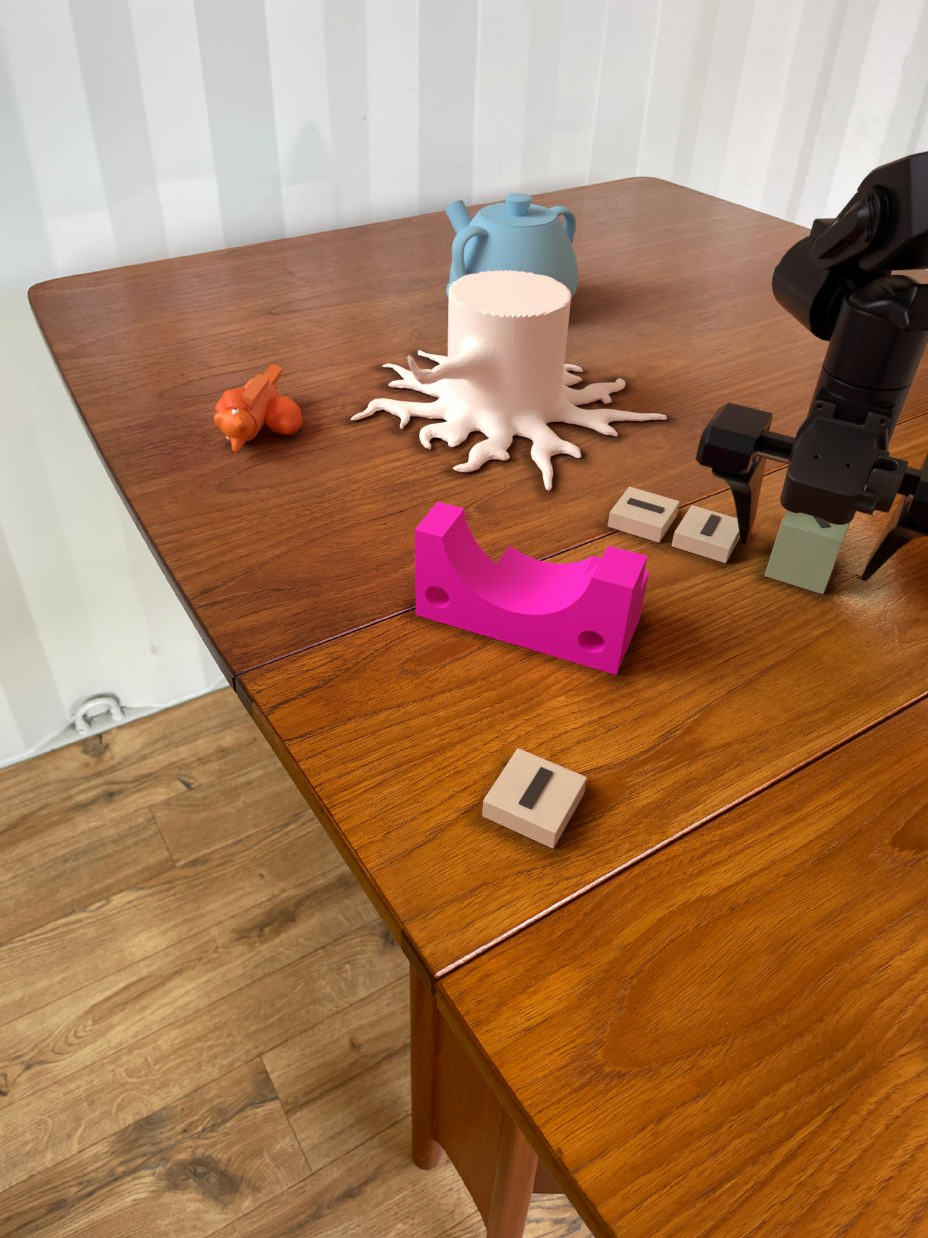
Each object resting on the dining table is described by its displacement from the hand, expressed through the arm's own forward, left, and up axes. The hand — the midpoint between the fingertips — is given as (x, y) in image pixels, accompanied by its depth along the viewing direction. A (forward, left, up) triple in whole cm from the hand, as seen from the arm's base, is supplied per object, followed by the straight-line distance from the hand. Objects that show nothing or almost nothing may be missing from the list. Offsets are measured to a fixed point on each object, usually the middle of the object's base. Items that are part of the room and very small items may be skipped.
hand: (802, 559), depth 69 cm
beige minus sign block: (+8, +31, -1) cm, 32 cm away
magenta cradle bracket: (+16, +16, -1) cm, 23 cm away
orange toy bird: (+49, +4, -1) cm, 49 cm away
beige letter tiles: (+10, 0, -1) cm, 10 cm away
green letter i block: (0, 0, -1) cm, 1 cm away
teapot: (+45, -37, -1) cm, 58 cm away
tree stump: (+33, -12, -1) cm, 35 cm away
